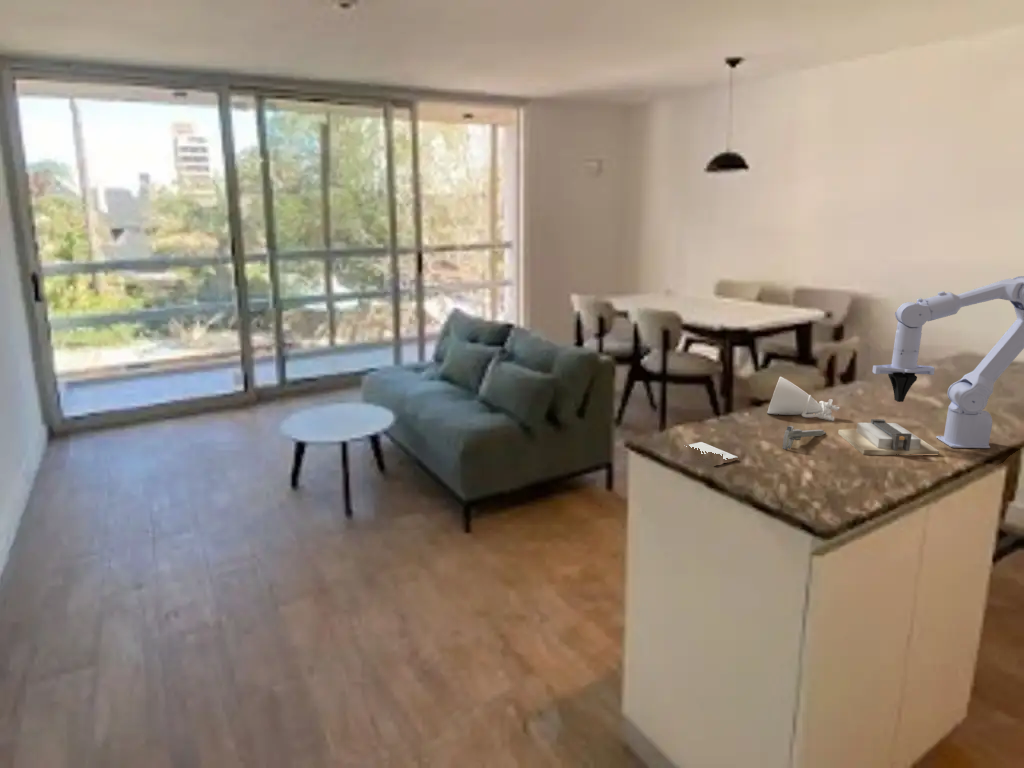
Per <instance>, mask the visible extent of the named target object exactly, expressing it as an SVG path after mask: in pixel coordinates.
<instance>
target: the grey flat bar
mask: <svg viewBox="0 0 1024 768" xmlns="http://www.w3.org/2000/svg"><path fill="white" fill-rule="evenodd" d="M887 423H888V422H887V421H885V422H873V424H874V425H875V426H877V427H878V428H880V429H881V430H882V431H884V432H885V433H887V434H888V435H890V436H891V437H892V435H893V434H896V433H901V432H899V431H898V430H896V429H895V428H893V427H892V426H890V425H889V424H887ZM904 439H905V437H904V436H899V440H904Z"/></svg>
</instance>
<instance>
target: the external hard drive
mask: <svg viewBox="0 0 1024 768" xmlns="http://www.w3.org/2000/svg"><path fill="white" fill-rule="evenodd" d="M688 445H689V446H690V447H691V448H692V447H694V449H695V448H697V450H698V448H699V449H700V451H701V454H703V453H702V451H703V452H704V454H706V453H705V451H706V452H707V453H708V452H712V453H714V454H715V453H716V454H720V455H721V456H722V454H723V459H725V460H727V459H726V458H728V459H733V458H738V457H739V456H737V455H735V454H731V453H730V452H727V451H724V450H723V449H721V448H717V447H715V446H712V445H710V444H708V443H705V442H703V441H699V442H694V443H691V444H688ZM686 447H687V446H686Z"/></svg>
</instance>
